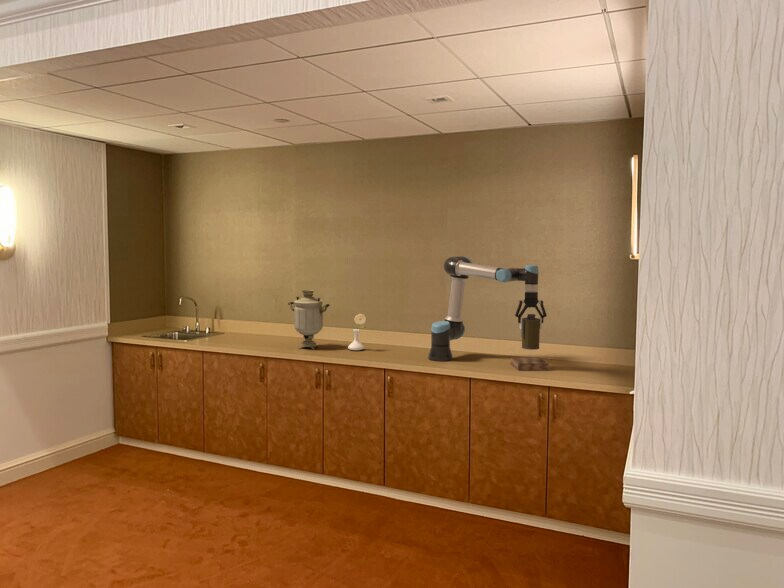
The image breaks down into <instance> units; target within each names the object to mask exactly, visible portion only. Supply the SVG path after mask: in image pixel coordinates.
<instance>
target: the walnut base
mask: <svg viewBox="0 0 784 588" xmlns="http://www.w3.org/2000/svg"><path fill="white" fill-rule="evenodd" d="M510 365H512V366H513V367H514V368H515V370H517V371H518V370H519V371H550V364H549V363H548V362H547V361H546V360H544V359H543V358H541V357H511V358H510Z"/></svg>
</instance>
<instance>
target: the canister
mask: <svg viewBox="0 0 784 588" xmlns="http://www.w3.org/2000/svg"><path fill="white" fill-rule="evenodd" d="M536 316H537V314H534V313H528V314H527V316H526V317H521V318H522V329H521V333H520V334H521V335H520V336H521V349H523V350H529V351H530V350H540V337H541V336H540V333H541V332H540V331H541V329H540V319H539V317H536Z"/></svg>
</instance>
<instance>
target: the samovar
mask: <svg viewBox="0 0 784 588" xmlns="http://www.w3.org/2000/svg"><path fill="white" fill-rule="evenodd" d="M301 292H302V295H303V297H301V298H300V296H296V300H293V301H290V302H288V303H287V305H288V306H290V310H291V311H292V312H294V316H293V317H294V329H295V331H296V332H297V333H299V334H300V335H302V337H303V339H304V340H303V341H302V342H301V343H300V346H299V347H298V349H299V350H301V349H302V348H311V350H316V349H315V347H319V345H318V344H317V342H315V341H314V340H313V339H314V338H315V337H314V336H315V335H317V334H318V333H320V332H321V331H322V330H323V327H324V323H323V322H324V321H323V319H324V317H323V316H324V314H323V313H326V311H327V309H328V307H330V303H327V304H324V303H323V302H324V300H322V299H321V298H320V297H317V298H316V297H314V292H315V289H302V290H301ZM323 304H324V305H323Z"/></svg>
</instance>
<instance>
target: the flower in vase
mask: <svg viewBox="0 0 784 588" xmlns="http://www.w3.org/2000/svg"><path fill="white" fill-rule="evenodd" d="M353 320H354V322H355V324H357V325H358V327H357V326H356V325H353V324H352V326H353V327H354V328H355V329H352V332H353V336H354V340H353V341H352V342H351V343H350V344H349V345H348V346H347V349H348V350H350V351H362V350H364V349H365V348H366V347H365V346H364V344H363V343H361V342H360V341H359V332H360V329H364V328H366V326H365V325H364V324H366V321H367V317H366V316H365V314H363V313H358V314H357V315H355V317H354V319H353ZM359 328H360V329H359Z"/></svg>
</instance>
